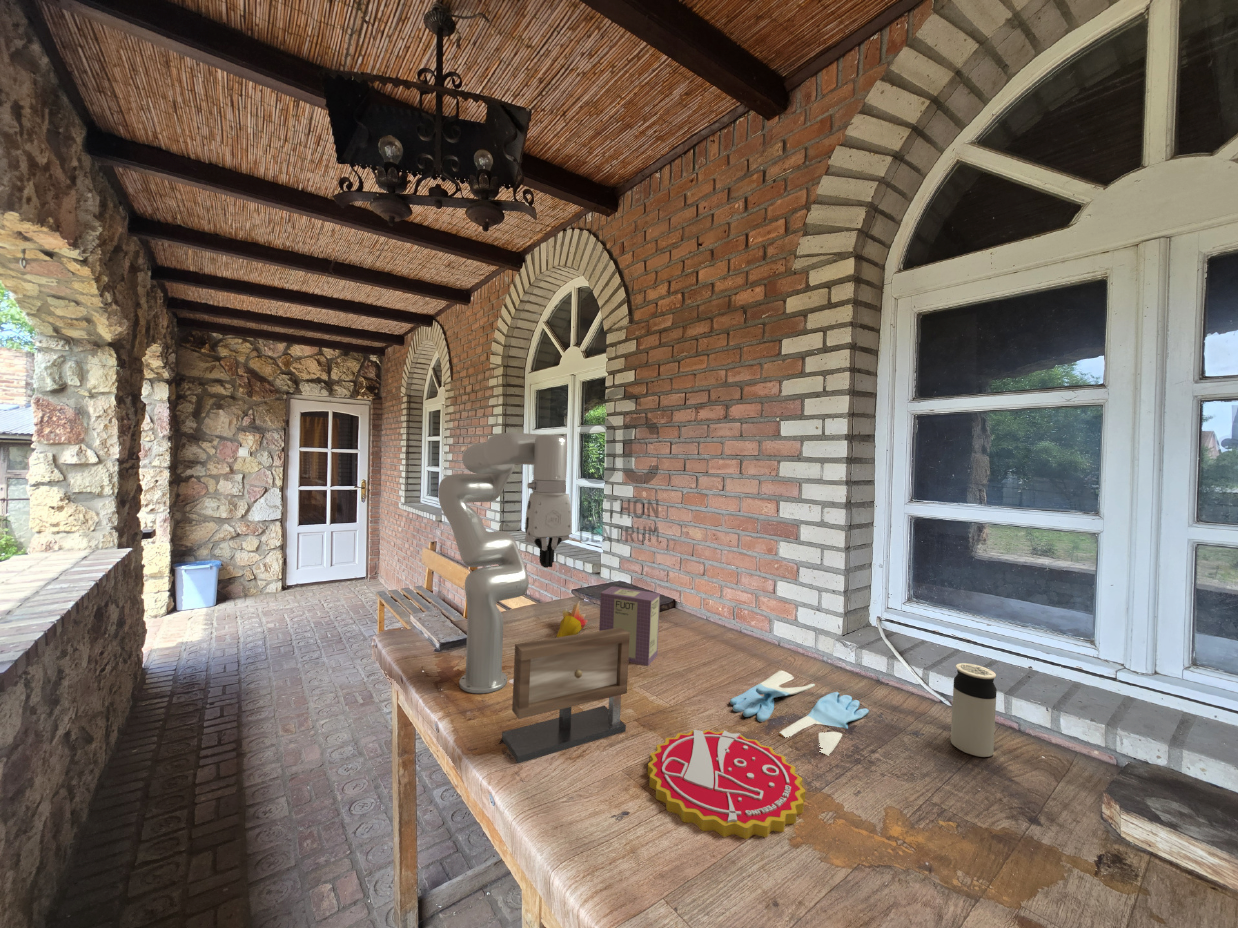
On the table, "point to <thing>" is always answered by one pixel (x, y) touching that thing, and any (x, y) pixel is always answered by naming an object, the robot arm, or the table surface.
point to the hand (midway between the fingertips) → (546, 566)
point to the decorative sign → (726, 783)
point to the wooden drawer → (569, 671)
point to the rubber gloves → (822, 713)
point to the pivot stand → (564, 731)
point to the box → (633, 620)
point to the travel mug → (973, 710)
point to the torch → (571, 622)
